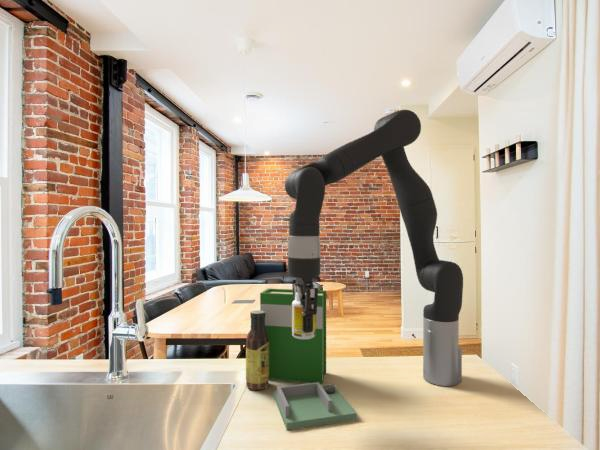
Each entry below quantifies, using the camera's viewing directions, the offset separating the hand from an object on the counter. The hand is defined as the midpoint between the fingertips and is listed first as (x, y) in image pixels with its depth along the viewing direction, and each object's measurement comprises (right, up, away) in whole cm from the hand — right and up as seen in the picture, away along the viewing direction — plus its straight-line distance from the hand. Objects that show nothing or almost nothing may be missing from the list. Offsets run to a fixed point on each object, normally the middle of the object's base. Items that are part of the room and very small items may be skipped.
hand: (304, 327), depth 86 cm
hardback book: (-3, -19, +20) cm, 28 cm away
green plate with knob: (+2, -19, +2) cm, 20 cm away
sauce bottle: (-12, -20, +14) cm, 27 cm away
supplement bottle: (0, -2, 0) cm, 2 cm away
